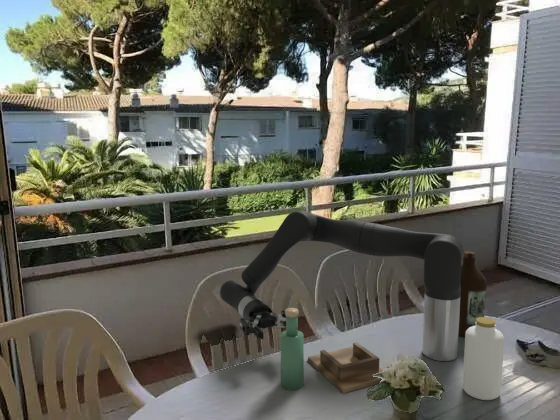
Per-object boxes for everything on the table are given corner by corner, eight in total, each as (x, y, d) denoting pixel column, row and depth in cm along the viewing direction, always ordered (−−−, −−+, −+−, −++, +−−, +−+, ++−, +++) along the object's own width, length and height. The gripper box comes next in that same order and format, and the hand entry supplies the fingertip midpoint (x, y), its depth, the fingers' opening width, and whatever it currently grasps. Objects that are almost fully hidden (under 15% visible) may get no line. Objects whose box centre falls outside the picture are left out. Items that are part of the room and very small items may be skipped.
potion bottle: (504, 404, 107) (509, 329, 104) (465, 400, 108) (469, 326, 105) (495, 384, 115) (500, 314, 112) (459, 381, 116) (463, 312, 113)
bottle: (289, 375, 120) (288, 304, 117) (308, 382, 117) (307, 309, 114) (276, 385, 116) (275, 311, 112) (295, 392, 112) (295, 316, 109)
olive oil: (439, 328, 148) (443, 250, 143) (464, 322, 152) (469, 246, 148) (465, 341, 138) (469, 259, 134) (491, 334, 142) (497, 254, 138)
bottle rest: (307, 360, 128) (307, 344, 127) (351, 349, 134) (351, 334, 133) (343, 393, 112) (343, 375, 111) (391, 379, 118) (391, 362, 117)
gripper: (230, 303, 134) (251, 324, 119) (276, 295, 139) (301, 314, 125) (231, 328, 135) (252, 351, 120) (277, 319, 141) (301, 340, 126)
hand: (277, 332), depth 123 cm, fingers open, 8 cm apart
